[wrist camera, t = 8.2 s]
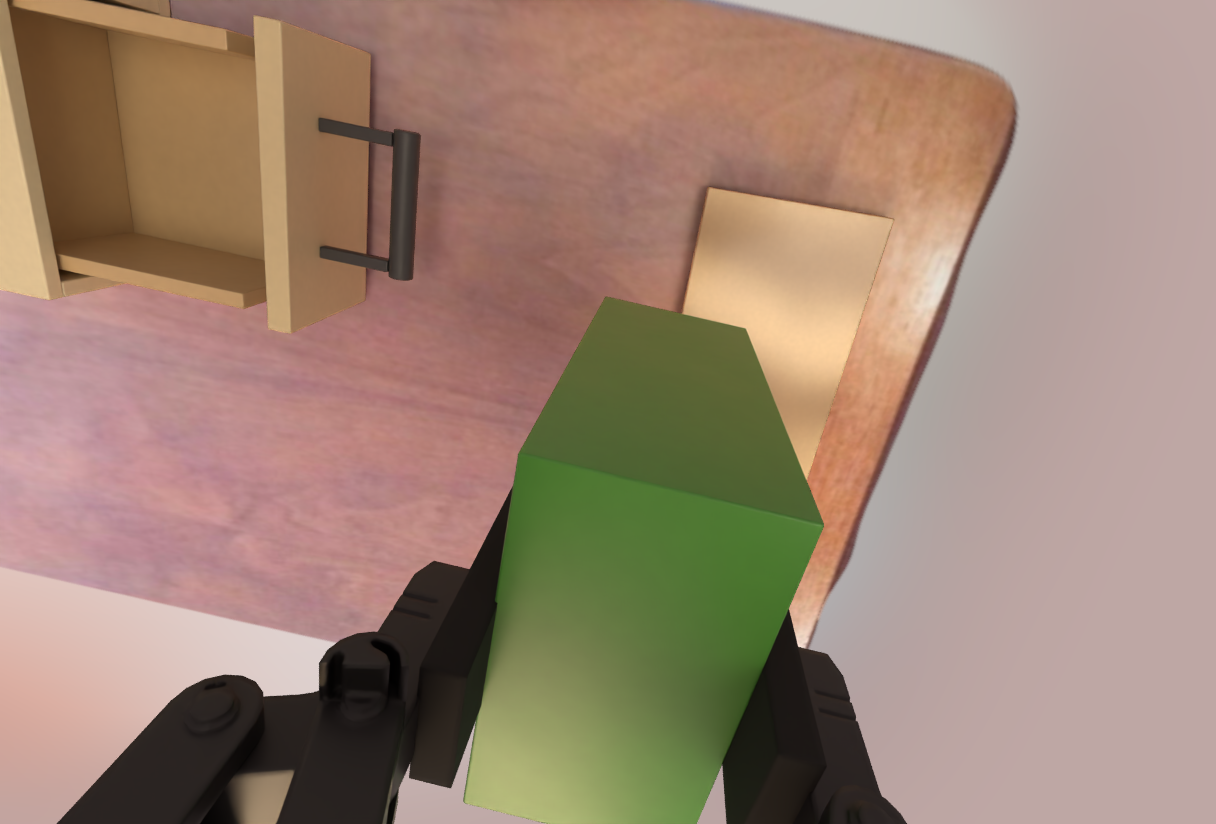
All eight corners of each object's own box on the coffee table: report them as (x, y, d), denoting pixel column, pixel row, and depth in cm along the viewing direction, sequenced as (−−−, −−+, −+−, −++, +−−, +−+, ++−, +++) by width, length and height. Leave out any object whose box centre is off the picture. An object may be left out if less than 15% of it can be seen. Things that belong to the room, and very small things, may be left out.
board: (707, 186, 33) (708, 187, 31) (887, 217, 32) (895, 219, 31) (643, 492, 41) (642, 501, 39) (787, 519, 40) (790, 529, 39)
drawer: (460, 71, 31) (395, 44, 24) (441, 317, 36) (384, 354, 29) (107, -2, 31) (-62, -51, 24) (140, 252, 37) (11, 273, 29)
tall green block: (746, 328, 20) (825, 525, 9) (681, 538, 24) (682, 859, 13) (605, 295, 20) (517, 452, 9) (561, 510, 24) (462, 803, 13)
